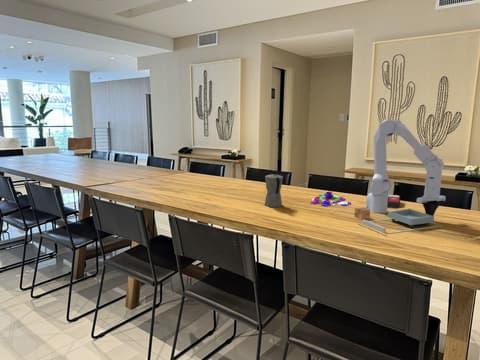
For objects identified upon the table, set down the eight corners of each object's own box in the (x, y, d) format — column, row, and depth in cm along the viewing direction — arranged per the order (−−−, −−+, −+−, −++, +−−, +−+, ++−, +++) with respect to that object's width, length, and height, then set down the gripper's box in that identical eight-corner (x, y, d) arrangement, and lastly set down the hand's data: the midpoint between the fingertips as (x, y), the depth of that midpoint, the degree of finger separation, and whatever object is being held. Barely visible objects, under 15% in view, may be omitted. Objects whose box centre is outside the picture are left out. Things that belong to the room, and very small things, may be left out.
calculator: (376, 199, 176) (378, 192, 189) (375, 207, 177) (377, 200, 190) (400, 201, 171) (400, 194, 184) (399, 210, 172) (399, 202, 185)
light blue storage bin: (387, 220, 147) (388, 211, 147) (408, 218, 152) (409, 209, 151) (410, 229, 136) (411, 219, 136) (432, 225, 141) (434, 216, 140)
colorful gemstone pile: (338, 210, 170) (338, 201, 169) (303, 203, 184) (303, 195, 183) (359, 201, 188) (360, 193, 187) (326, 196, 202) (326, 188, 201)
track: (358, 224, 144) (358, 218, 144) (408, 218, 154) (408, 212, 154) (386, 236, 130) (387, 229, 129) (440, 228, 140) (440, 222, 139)
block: (354, 218, 154) (355, 207, 153) (362, 217, 155) (363, 206, 154) (361, 221, 150) (361, 210, 149) (369, 220, 151) (370, 209, 150)
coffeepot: (261, 202, 182) (262, 169, 179) (278, 202, 184) (279, 168, 180) (268, 209, 167) (269, 173, 164) (287, 209, 169) (288, 173, 165)
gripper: (428, 189, 139) (424, 222, 142) (453, 187, 144) (449, 218, 147) (413, 186, 146) (410, 217, 148) (438, 184, 151) (435, 214, 153)
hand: (429, 217), depth 148 cm, fingers closed
